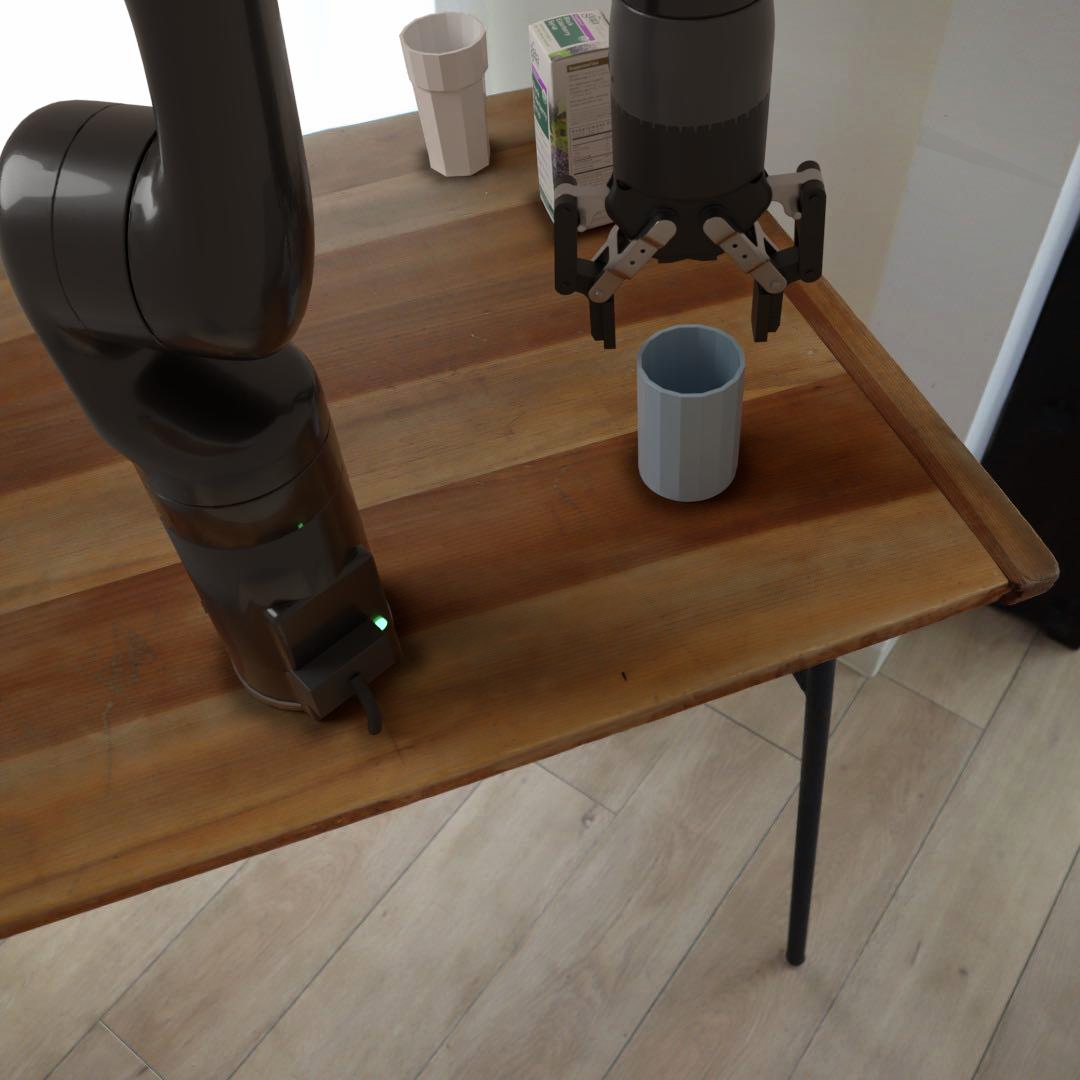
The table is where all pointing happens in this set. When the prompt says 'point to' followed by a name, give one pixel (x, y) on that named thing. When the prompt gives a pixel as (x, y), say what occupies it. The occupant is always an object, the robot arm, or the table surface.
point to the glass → (689, 411)
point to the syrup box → (572, 102)
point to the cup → (450, 89)
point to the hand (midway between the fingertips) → (684, 336)
